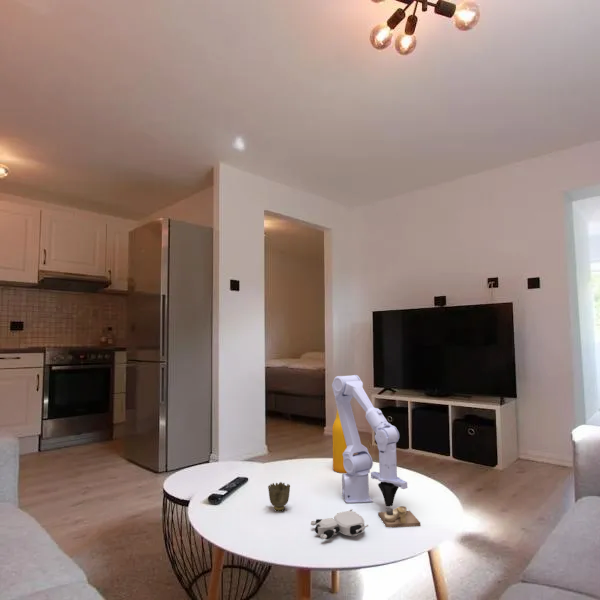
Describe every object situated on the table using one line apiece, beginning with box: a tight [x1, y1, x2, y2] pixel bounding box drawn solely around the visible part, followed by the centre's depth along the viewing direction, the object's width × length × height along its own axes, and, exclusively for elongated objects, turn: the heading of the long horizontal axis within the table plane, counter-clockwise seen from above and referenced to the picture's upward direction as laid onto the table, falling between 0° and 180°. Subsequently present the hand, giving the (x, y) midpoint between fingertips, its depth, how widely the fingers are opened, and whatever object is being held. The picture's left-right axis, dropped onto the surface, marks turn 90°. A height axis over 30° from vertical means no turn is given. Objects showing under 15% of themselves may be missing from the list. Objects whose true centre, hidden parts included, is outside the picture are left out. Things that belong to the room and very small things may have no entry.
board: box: [377, 506, 421, 528], centre depth 134 cm, size 11×9×4 cm
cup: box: [267, 481, 291, 512], centre depth 144 cm, size 8×7×8 cm
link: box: [385, 505, 408, 522], centre depth 135 cm, size 10×3×2 cm, turn 135°
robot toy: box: [310, 509, 370, 540], centre depth 126 cm, size 12×4×15 cm
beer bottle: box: [331, 409, 347, 474], centre depth 189 cm, size 9×9×29 cm
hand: (389, 505), depth 142 cm, fingers closed
